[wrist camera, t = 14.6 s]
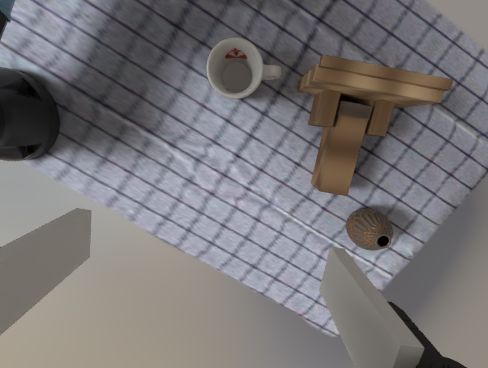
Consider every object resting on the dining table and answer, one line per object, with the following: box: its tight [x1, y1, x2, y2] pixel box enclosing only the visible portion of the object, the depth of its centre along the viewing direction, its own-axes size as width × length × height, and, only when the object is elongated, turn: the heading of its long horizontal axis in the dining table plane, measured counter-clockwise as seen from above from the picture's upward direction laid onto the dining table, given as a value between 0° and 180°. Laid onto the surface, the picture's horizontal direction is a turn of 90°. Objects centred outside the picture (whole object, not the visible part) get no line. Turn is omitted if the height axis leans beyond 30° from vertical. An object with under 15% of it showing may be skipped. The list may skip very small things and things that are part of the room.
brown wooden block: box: [311, 101, 372, 196], centre depth 43 cm, size 14×5×6 cm, turn 170°
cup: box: [206, 37, 282, 99], centre depth 40 cm, size 11×8×8 cm
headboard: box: [298, 55, 453, 137], centre depth 38 cm, size 16×8×13 cm, turn 80°
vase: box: [346, 208, 393, 250], centre depth 45 cm, size 7×7×9 cm
